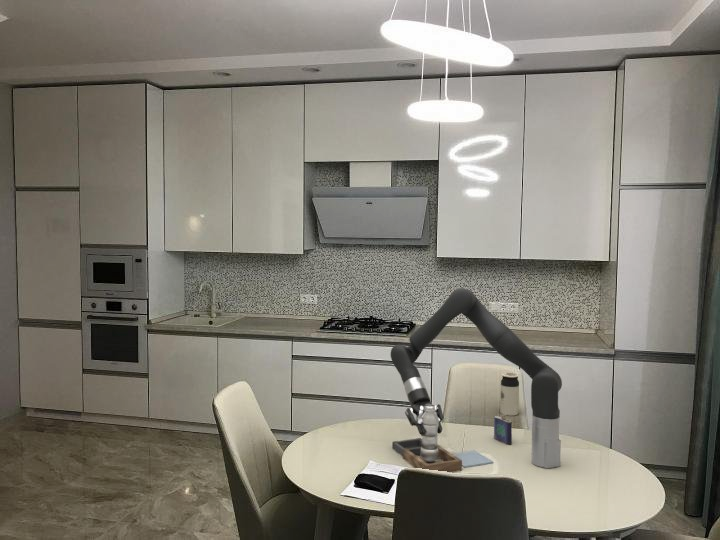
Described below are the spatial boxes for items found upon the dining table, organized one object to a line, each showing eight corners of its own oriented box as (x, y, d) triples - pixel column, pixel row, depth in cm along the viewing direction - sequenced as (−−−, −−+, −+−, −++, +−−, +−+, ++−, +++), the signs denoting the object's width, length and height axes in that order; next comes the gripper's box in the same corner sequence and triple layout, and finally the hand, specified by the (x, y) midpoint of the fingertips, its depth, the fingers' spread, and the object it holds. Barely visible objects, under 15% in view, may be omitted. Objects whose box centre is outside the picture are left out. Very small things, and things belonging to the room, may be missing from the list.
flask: (492, 438, 244) (492, 411, 244) (498, 437, 246) (498, 411, 245) (508, 445, 236) (508, 418, 235) (513, 444, 237) (514, 417, 237)
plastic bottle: (426, 455, 223) (426, 401, 221) (442, 460, 218) (442, 405, 217) (416, 460, 218) (416, 405, 216) (432, 465, 213) (432, 409, 212)
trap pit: (432, 452, 228) (432, 446, 227) (404, 457, 223) (404, 450, 223) (420, 444, 237) (420, 437, 237) (392, 448, 232) (392, 441, 232)
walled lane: (461, 470, 211) (461, 460, 211) (426, 476, 206) (426, 466, 205) (436, 453, 227) (436, 444, 227) (402, 458, 222) (402, 449, 222)
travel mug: (516, 411, 282) (517, 372, 280) (519, 416, 274) (520, 376, 273) (499, 410, 282) (500, 372, 281) (501, 415, 274) (502, 376, 273)
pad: (493, 463, 218) (493, 461, 218) (464, 467, 213) (464, 466, 213) (474, 451, 229) (474, 450, 229) (446, 456, 224) (446, 454, 224)
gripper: (402, 389, 221) (417, 431, 210) (437, 385, 226) (453, 426, 216) (395, 399, 226) (410, 441, 216) (430, 395, 231) (445, 436, 221)
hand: (432, 433), depth 216 cm, fingers closed on plastic bottle, 6 cm apart
